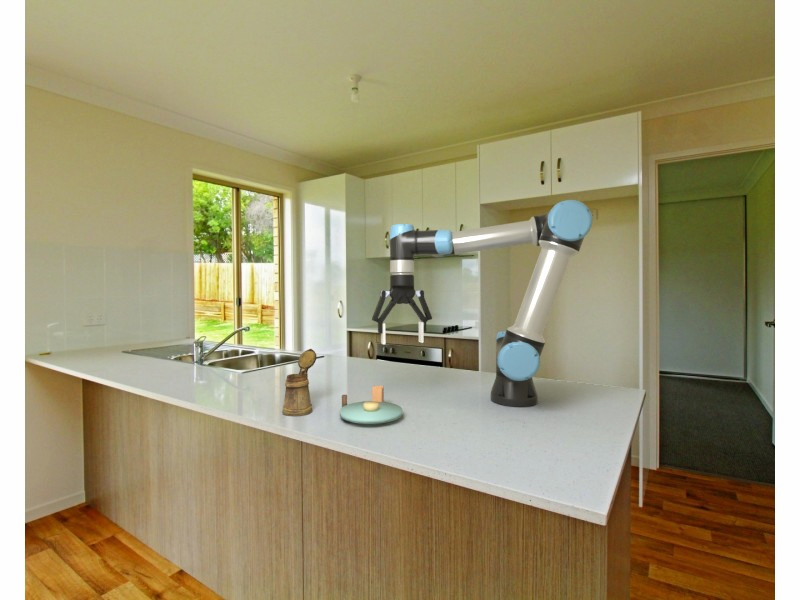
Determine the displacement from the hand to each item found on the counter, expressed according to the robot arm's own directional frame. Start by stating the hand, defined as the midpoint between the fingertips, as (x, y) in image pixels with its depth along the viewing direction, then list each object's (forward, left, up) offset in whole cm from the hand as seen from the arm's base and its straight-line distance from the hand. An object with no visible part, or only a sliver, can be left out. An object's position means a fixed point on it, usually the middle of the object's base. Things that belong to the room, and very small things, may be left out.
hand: (402, 343), depth 137 cm
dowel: (+17, +8, -20) cm, 27 cm away
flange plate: (+7, +12, -19) cm, 23 cm away
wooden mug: (+30, +8, -20) cm, 37 cm away
